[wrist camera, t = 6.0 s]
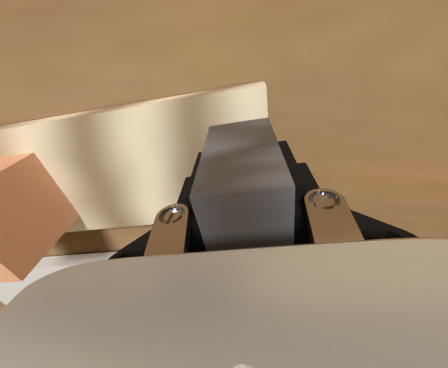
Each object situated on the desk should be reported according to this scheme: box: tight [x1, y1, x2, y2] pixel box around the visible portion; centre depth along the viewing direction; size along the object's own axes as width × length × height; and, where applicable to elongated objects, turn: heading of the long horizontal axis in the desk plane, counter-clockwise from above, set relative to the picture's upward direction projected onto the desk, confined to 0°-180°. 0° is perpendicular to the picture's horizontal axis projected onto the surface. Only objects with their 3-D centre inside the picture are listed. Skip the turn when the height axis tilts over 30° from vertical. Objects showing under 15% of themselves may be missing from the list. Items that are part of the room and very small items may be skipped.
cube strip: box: [0, 81, 295, 251], centre depth 12 cm, size 20×8×7 cm, turn 99°
